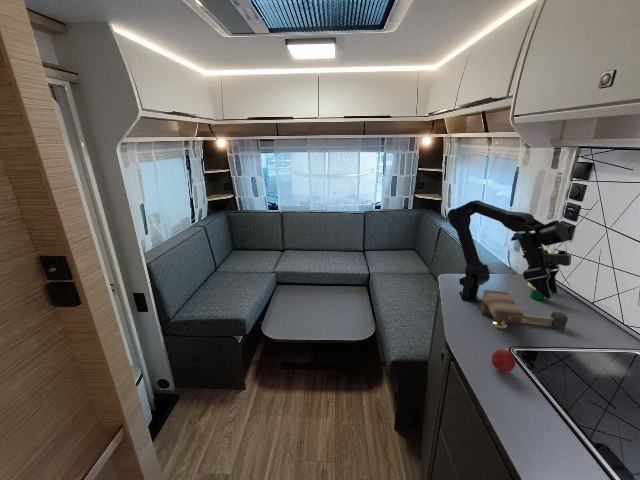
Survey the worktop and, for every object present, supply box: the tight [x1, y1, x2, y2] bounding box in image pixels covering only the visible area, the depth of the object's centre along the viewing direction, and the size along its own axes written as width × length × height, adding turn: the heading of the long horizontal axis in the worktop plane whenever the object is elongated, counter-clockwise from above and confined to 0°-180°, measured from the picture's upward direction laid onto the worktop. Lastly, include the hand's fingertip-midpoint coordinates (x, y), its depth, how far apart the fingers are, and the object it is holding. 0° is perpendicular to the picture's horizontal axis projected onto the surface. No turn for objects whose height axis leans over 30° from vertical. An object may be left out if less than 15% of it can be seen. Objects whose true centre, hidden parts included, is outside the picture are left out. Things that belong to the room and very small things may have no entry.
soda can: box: [529, 285, 546, 301], centre depth 120 cm, size 5×5×12 cm
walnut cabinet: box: [479, 289, 525, 324], centre depth 105 cm, size 15×8×9 cm, turn 168°
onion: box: [490, 348, 516, 373], centre depth 84 cm, size 6×6×8 cm
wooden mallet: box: [520, 311, 569, 330], centre depth 105 cm, size 3×17×5 cm, turn 78°
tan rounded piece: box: [491, 319, 508, 330], centre depth 105 cm, size 4×4×2 cm
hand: (552, 295), depth 93 cm, fingers open, 9 cm apart
